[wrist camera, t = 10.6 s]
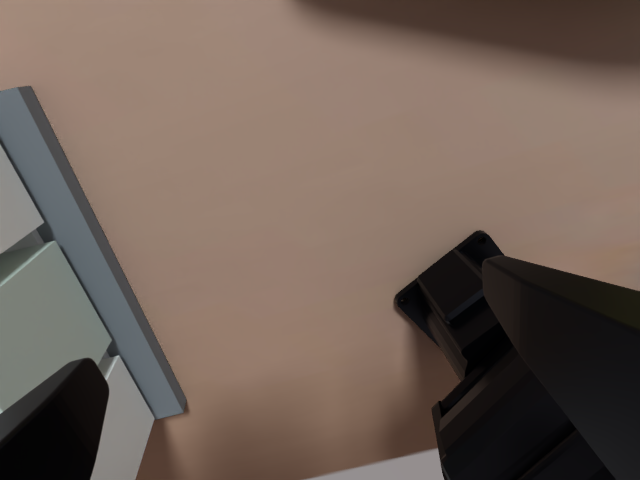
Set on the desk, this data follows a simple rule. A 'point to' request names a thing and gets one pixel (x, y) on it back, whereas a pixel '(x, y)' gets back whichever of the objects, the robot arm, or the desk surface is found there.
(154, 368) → the rail board
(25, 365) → the block
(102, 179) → the desk surface
